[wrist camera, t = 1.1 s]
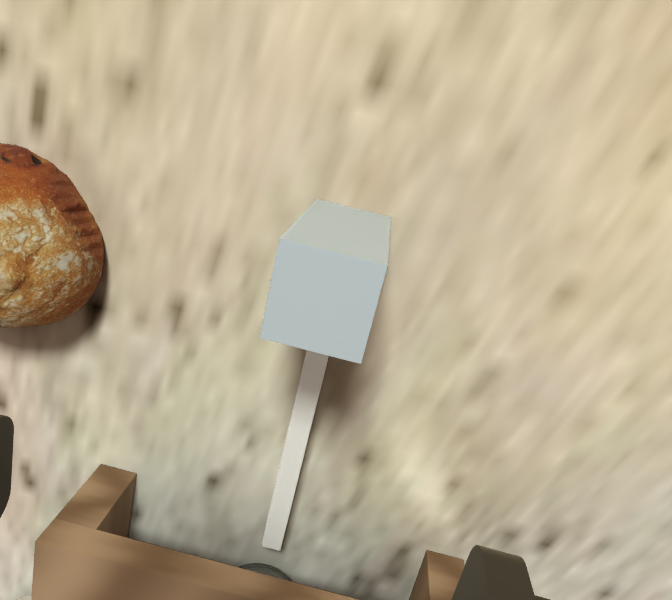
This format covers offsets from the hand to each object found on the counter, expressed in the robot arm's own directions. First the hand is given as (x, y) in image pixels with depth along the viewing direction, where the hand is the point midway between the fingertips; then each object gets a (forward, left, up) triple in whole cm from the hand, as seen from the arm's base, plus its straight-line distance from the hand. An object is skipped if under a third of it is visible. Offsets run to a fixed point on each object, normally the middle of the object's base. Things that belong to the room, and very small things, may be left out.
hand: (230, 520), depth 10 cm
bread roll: (+18, +4, -22) cm, 29 cm away
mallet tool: (0, +9, -22) cm, 24 cm away
